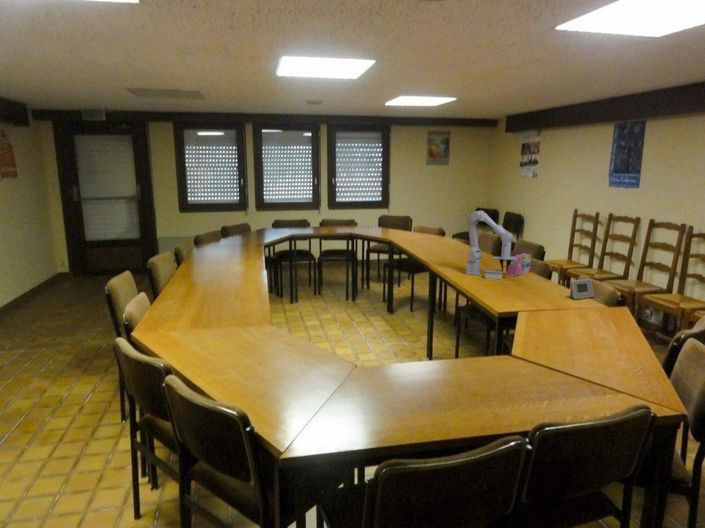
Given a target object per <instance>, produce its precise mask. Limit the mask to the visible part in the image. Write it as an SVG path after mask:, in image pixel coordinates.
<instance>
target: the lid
mask: <svg viewBox="0 0 705 528" xmlns="http://www.w3.org/2000/svg"><path fill="white" fill-rule="evenodd" d="M485 273H498V274H502V275H503V274H506V265H503V271H502V269H489V268H488V269H487V268H485V269H484V274H485Z"/></svg>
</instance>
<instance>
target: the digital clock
mask: <svg viewBox="0 0 705 528" xmlns="http://www.w3.org/2000/svg"><path fill="white" fill-rule="evenodd" d="M592 281H593V280H592V279H591V278H581V279H574V280H570V281H569V287H570V292H569V297H570V298H572V299H573V300H585V299H591V298H594V297H595V293H594V292H595V291H594V288H593V282H592Z"/></svg>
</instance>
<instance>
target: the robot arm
mask: <svg viewBox="0 0 705 528" xmlns="http://www.w3.org/2000/svg"><path fill="white" fill-rule="evenodd" d="M467 221H468V222H467V226H468V237H469V247H470V249H469V250H468V254H467V258H468V260H466V265H465V275H473V276H480V275H481V272H480V268H481V259H482V258H483V253H482V252H481V248H480V247H479V239H478V231H477V225H478V224H479V222H485V223H486V224H487V225H488V226H489V227H491V228H492V229H493V232H494V233H495V234H496V235H497V236H498V237H499V238H500V241H501V243H502V244H501V253H500V256H494V257H493V260H494V261H499V263H500V268H501V270H502V271H503V266H504V261H506V262H507V266H506V265H505V266H506V271H507V269H508V267H509V265H510V263H511V261H517V258H512V257H510V255H511V252H512V251H511V249H512V240H513V239H514V236H513V234H512V232H509V231H508V230H506V229H505V228H504V226H503V225H501V224H497V223H496V222H495V221H494V220H493V219H492V218H491V217H490V216H489V215H488V214H487V213H486V212H485V211H484V210H475V211H473V212H471V213H470V215H469V219H468V220H467Z"/></svg>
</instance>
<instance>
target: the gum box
mask: <svg viewBox="0 0 705 528" xmlns="http://www.w3.org/2000/svg"><path fill="white" fill-rule="evenodd" d="M510 257H512V258H517V261H511V263H510V265H509V267H508V269H507V271H506V273H505V274H508V275H513V276H512V277H514V276H516V277H518V276H517V275H519V276H521V275H520V274H522V275H525V274H524V273H526V274H528V272H529V273H531V267H532V265H531V264H532V253H525V252H523V251H522V252H521V251H520V252H518V253H515V254H510ZM505 262H506V265H505V266H507V261H505ZM508 275H507V276H508Z"/></svg>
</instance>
